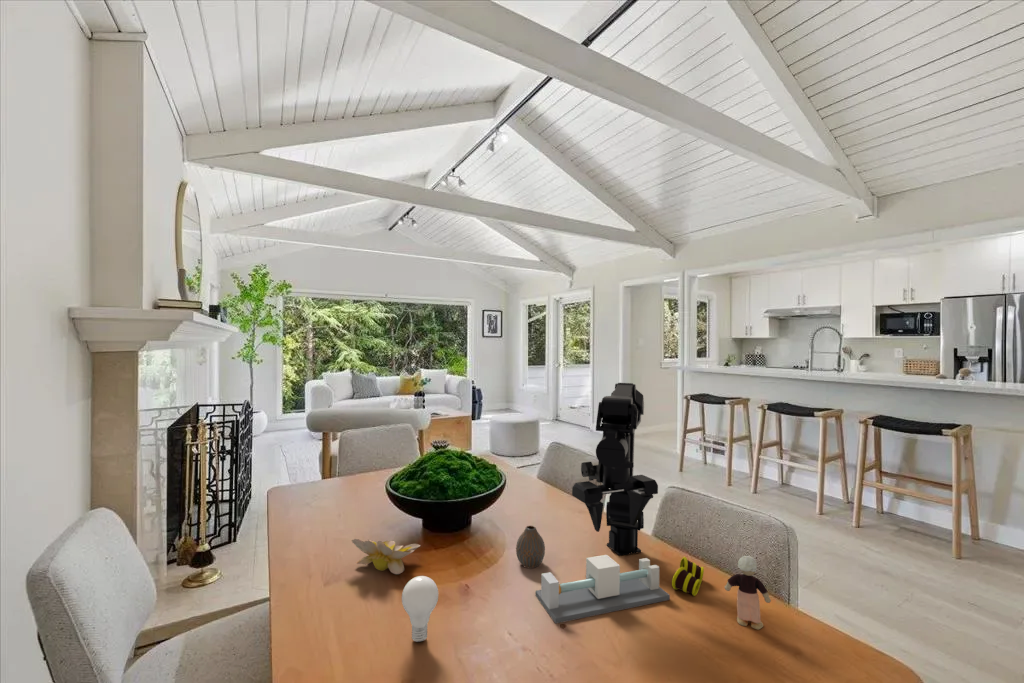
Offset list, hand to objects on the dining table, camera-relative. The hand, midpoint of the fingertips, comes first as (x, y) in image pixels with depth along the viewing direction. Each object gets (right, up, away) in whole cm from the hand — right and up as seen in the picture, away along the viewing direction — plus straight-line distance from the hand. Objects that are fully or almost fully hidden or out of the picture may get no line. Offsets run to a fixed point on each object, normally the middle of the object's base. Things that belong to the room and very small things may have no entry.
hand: (615, 527), depth 98 cm
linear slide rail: (-3, -13, -3) cm, 14 cm away
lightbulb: (-39, -13, -18) cm, 44 cm away
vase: (-18, -13, +11) cm, 25 cm away
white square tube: (-3, -12, -3) cm, 13 cm away
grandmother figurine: (+23, -14, -11) cm, 29 cm away
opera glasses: (+17, -14, +2) cm, 22 cm away
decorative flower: (-51, -13, +8) cm, 53 cm away
